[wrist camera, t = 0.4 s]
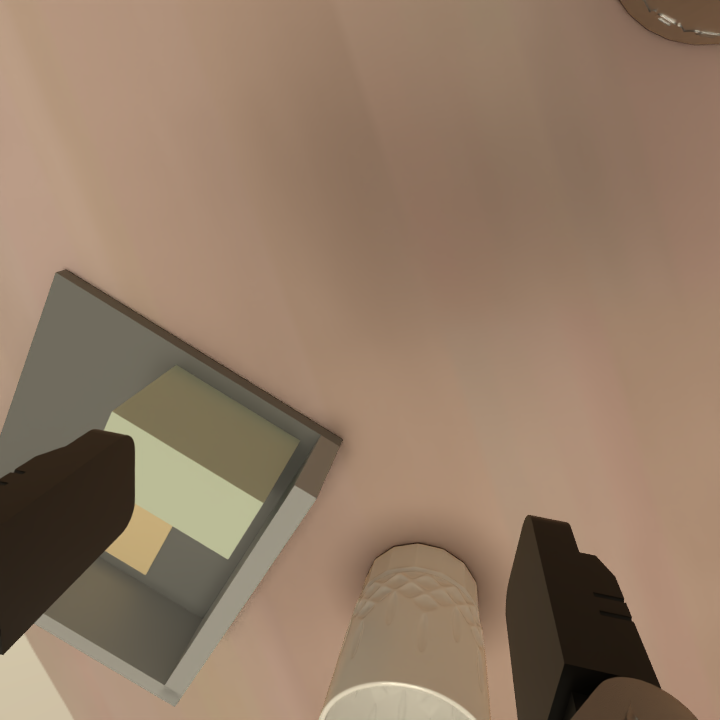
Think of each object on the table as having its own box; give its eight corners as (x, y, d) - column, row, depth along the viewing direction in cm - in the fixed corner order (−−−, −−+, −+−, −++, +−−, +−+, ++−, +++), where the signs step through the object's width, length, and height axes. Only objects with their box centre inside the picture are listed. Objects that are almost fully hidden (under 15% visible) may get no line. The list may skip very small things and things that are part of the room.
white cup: (500, 551, 32) (513, 711, 23) (472, 651, 35) (474, 830, 26) (366, 520, 33) (326, 663, 24) (350, 620, 36) (308, 782, 27)
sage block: (176, 364, 31) (111, 411, 25) (300, 440, 31) (263, 503, 25) (151, 418, 32) (85, 473, 27) (269, 490, 33) (228, 559, 27)
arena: (65, 269, 31) (-19, 294, 26) (342, 439, 31) (316, 498, 26) (-13, 493, 38) (-92, 549, 32) (215, 629, 38) (174, 707, 33)
